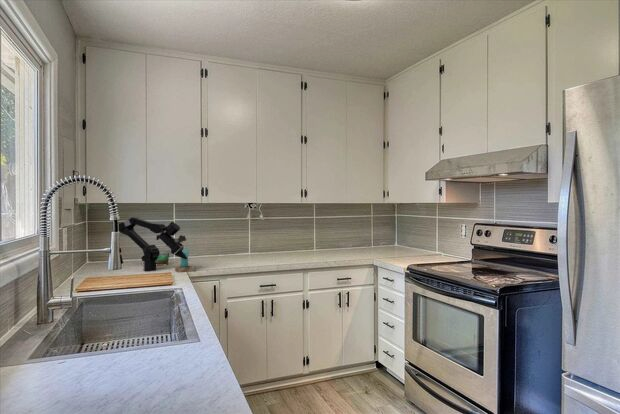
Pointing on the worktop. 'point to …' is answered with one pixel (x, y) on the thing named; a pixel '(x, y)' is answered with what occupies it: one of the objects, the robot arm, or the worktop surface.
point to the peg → (184, 261)
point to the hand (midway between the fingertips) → (186, 257)
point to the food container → (163, 257)
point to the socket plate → (184, 269)
